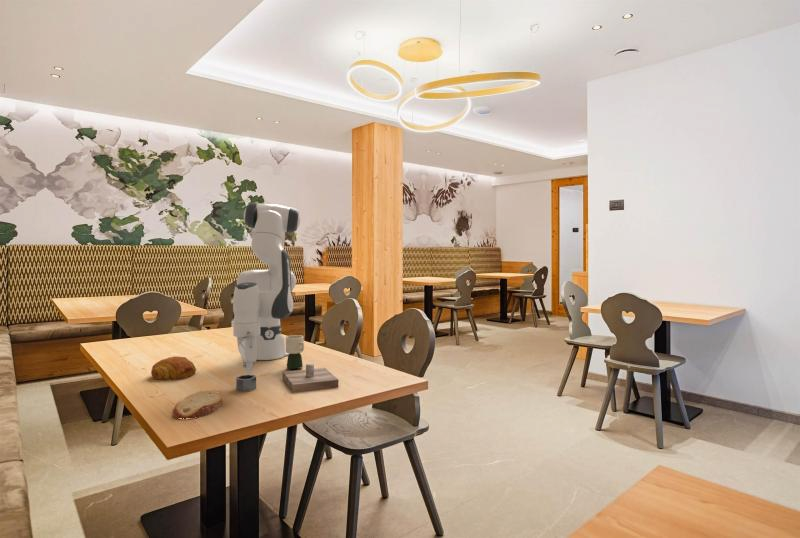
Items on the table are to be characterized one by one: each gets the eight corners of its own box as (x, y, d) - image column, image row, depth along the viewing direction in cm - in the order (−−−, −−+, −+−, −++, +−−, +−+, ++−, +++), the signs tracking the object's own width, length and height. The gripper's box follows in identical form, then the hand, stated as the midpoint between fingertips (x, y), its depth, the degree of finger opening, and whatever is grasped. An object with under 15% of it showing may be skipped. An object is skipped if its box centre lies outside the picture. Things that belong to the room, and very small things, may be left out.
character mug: (310, 368, 191) (310, 336, 190) (296, 372, 185) (296, 339, 184) (293, 364, 197) (293, 333, 197) (279, 368, 192) (278, 336, 191)
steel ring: (235, 387, 165) (235, 375, 165) (254, 385, 168) (254, 373, 167) (237, 392, 159) (237, 380, 159) (256, 390, 162) (256, 378, 162)
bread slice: (210, 395, 157) (210, 384, 157) (240, 407, 146) (240, 395, 145) (154, 409, 144) (154, 396, 143) (182, 423, 132) (181, 410, 132)
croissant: (145, 383, 177) (141, 363, 176) (181, 368, 190) (178, 349, 189) (170, 387, 170) (166, 366, 169) (206, 372, 184) (202, 352, 182)
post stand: (283, 378, 176) (282, 361, 176) (324, 374, 183) (324, 357, 183) (292, 391, 160) (292, 372, 160) (338, 386, 167) (338, 368, 166)
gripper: (261, 334, 154) (261, 376, 155) (252, 325, 173) (252, 363, 173) (240, 335, 152) (241, 378, 152) (234, 326, 170) (234, 365, 171)
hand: (247, 370), depth 163 cm, fingers open, 8 cm apart
